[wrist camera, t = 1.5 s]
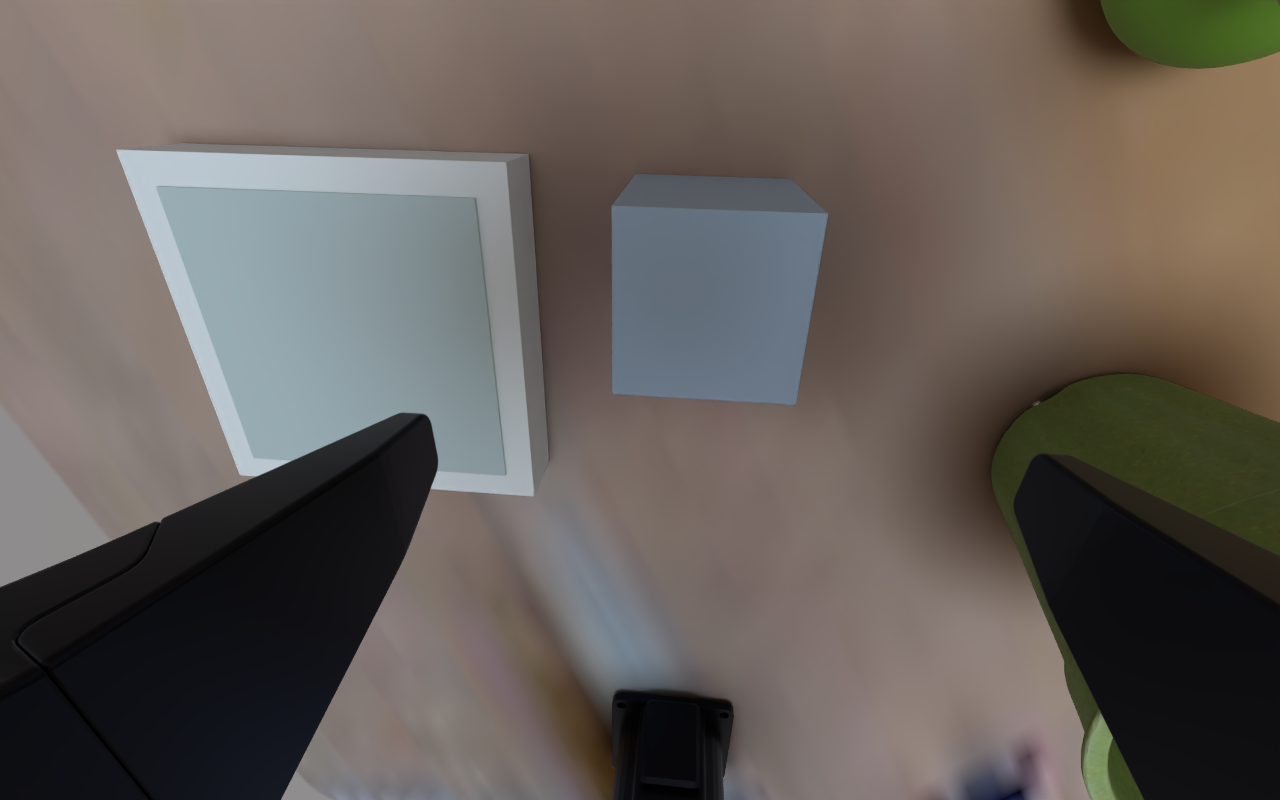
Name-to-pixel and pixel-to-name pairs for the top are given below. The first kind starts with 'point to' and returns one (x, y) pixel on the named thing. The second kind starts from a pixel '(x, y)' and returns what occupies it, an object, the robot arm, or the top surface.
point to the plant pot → (1159, 464)
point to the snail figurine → (1196, 30)
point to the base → (356, 298)
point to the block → (713, 286)
